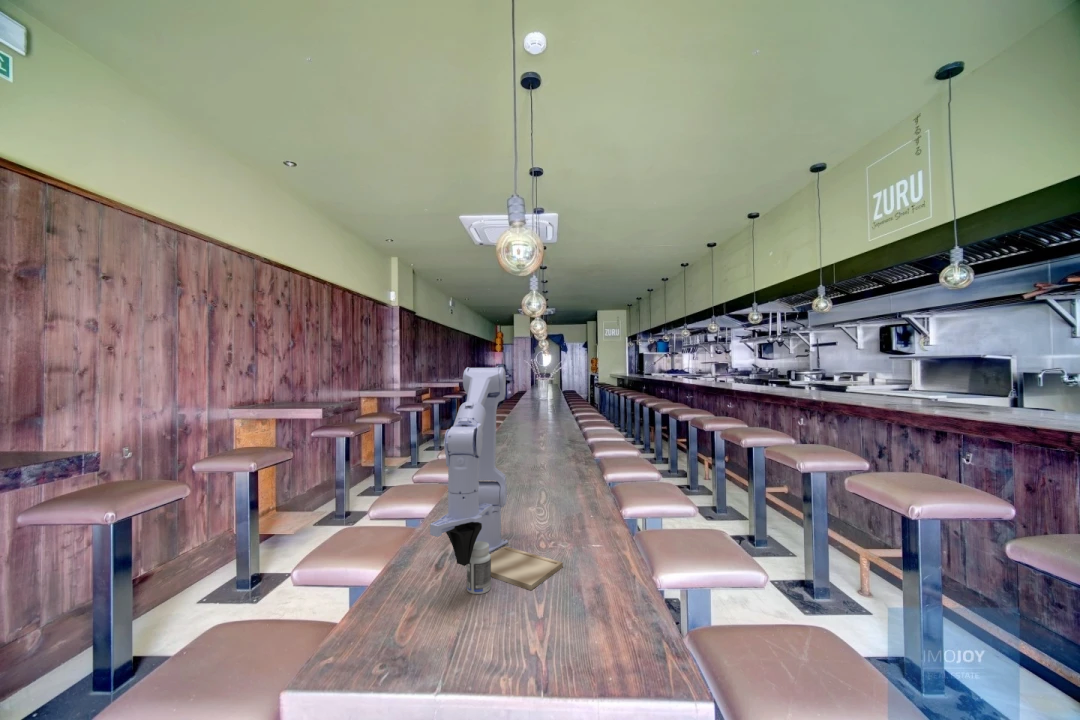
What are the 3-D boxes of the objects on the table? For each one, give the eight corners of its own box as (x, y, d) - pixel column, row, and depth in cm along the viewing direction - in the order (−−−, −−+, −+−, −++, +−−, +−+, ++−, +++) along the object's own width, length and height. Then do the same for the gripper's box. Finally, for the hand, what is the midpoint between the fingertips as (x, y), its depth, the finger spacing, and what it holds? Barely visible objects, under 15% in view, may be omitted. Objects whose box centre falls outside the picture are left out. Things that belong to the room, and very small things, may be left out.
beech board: (470, 569, 88) (470, 564, 88) (505, 550, 98) (505, 545, 98) (531, 590, 79) (531, 584, 79) (562, 567, 89) (562, 561, 89)
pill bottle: (495, 584, 82) (495, 541, 82) (484, 596, 77) (484, 551, 78) (473, 581, 83) (473, 539, 84) (461, 592, 79) (462, 547, 79)
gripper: (450, 503, 70) (449, 585, 69) (504, 484, 82) (504, 554, 81) (422, 496, 73) (421, 574, 73) (477, 480, 85) (477, 546, 85)
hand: (463, 563), depth 77 cm, fingers closed
